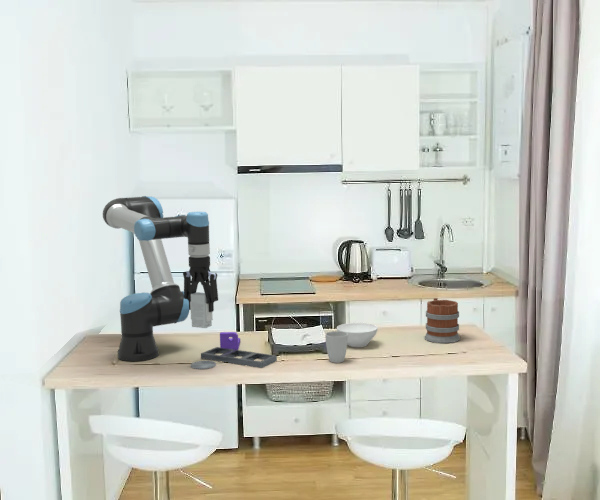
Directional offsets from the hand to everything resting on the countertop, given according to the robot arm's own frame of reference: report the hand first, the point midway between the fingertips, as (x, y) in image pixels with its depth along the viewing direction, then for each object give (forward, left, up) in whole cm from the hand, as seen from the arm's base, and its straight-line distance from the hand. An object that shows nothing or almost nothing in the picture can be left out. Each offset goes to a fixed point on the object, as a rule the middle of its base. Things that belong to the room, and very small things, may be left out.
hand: (201, 319), depth 272 cm
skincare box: (0, 0, -3) cm, 3 cm away
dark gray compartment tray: (+7, +12, -17) cm, 22 cm away
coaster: (0, 0, -17) cm, 17 cm away
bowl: (+37, +50, -17) cm, 64 cm away
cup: (+40, +27, -17) cm, 51 cm away
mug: (+62, +75, -17) cm, 99 cm away
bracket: (-7, +27, -18) cm, 33 cm away
